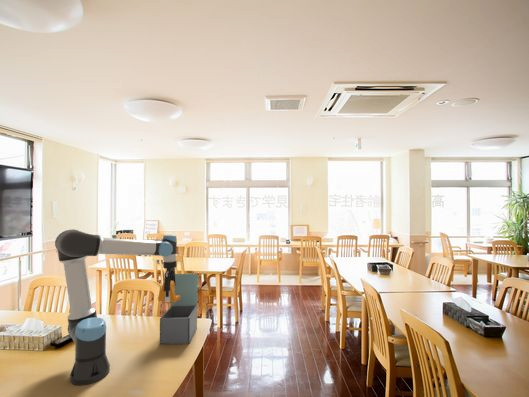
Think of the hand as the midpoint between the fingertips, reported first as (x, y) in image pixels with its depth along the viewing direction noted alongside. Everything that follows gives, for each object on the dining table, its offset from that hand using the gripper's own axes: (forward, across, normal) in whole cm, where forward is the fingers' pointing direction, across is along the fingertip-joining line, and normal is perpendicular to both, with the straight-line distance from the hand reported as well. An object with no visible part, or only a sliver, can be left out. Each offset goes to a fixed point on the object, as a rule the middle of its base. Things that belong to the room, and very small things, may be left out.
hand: (169, 299), depth 166 cm
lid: (-3, +10, -6) cm, 12 cm away
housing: (+21, -2, -6) cm, 22 cm away
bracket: (+1, 0, 0) cm, 1 cm away
